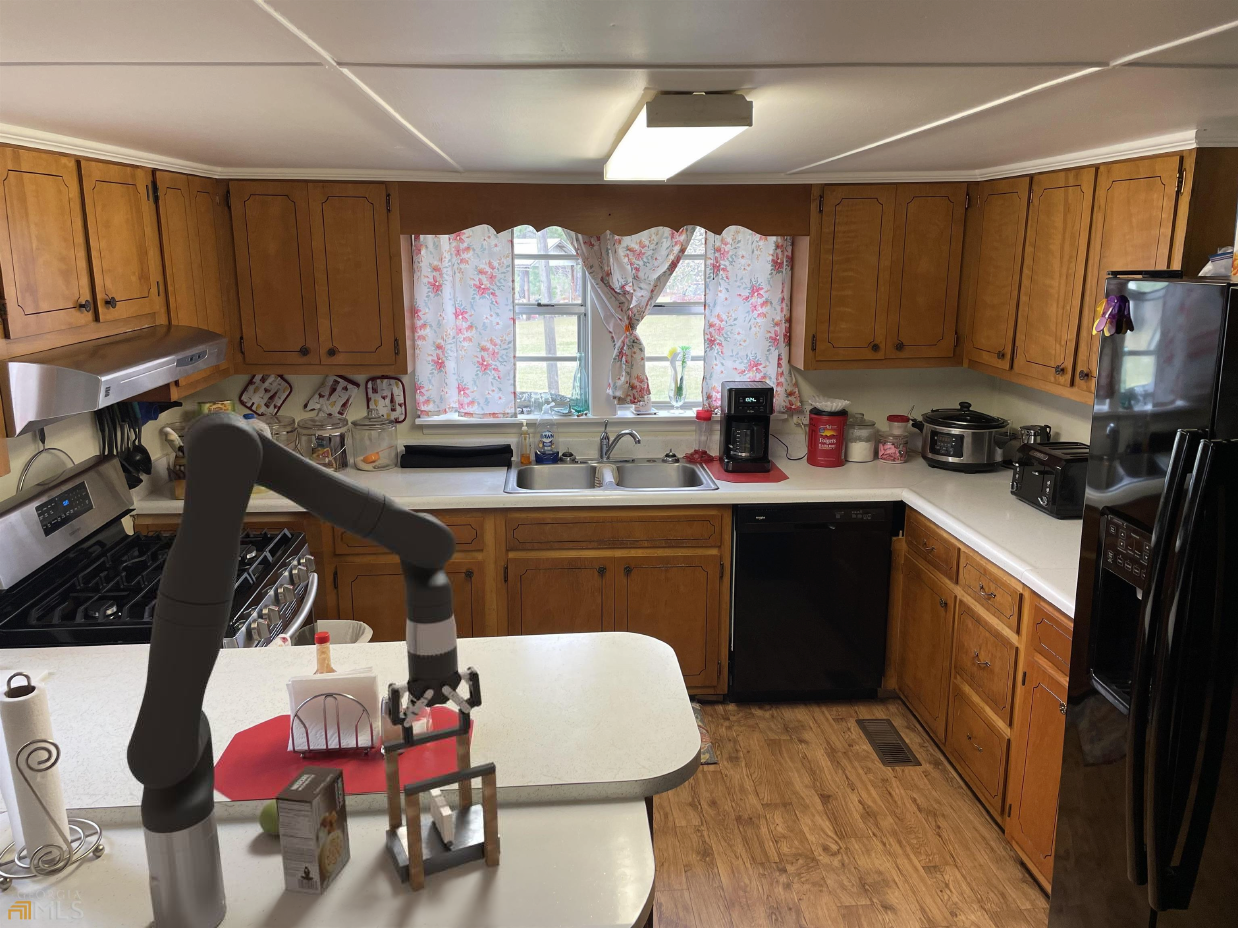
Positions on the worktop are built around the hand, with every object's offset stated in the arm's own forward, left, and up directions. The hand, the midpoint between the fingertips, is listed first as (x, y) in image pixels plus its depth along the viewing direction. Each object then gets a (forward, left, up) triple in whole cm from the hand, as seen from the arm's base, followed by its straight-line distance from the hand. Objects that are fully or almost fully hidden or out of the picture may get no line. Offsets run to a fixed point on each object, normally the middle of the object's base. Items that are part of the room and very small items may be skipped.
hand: (437, 738), depth 142 cm
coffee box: (-19, +3, -20) cm, 28 cm away
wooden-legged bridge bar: (0, +7, -4) cm, 8 cm away
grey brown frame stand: (0, 0, -20) cm, 20 cm away
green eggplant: (-22, +16, -20) cm, 34 cm away
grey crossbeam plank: (0, -7, -4) cm, 8 cm away
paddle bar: (0, 0, -17) cm, 17 cm away
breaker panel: (0, 0, -20) cm, 20 cm away
